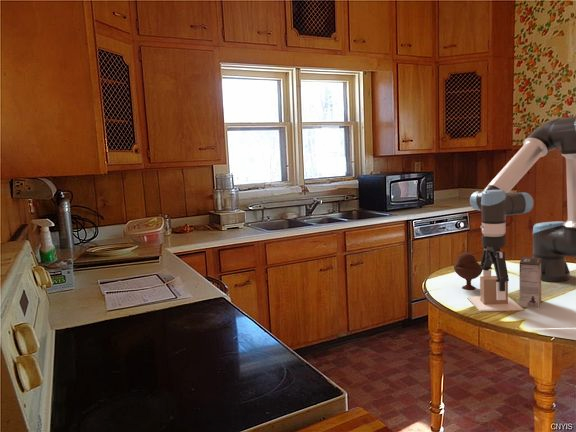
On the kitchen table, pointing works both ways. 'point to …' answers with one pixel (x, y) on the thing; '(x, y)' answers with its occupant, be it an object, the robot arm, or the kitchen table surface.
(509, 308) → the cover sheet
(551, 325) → the kitchen table surface
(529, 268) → the coffee box
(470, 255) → the ice cream bowl
